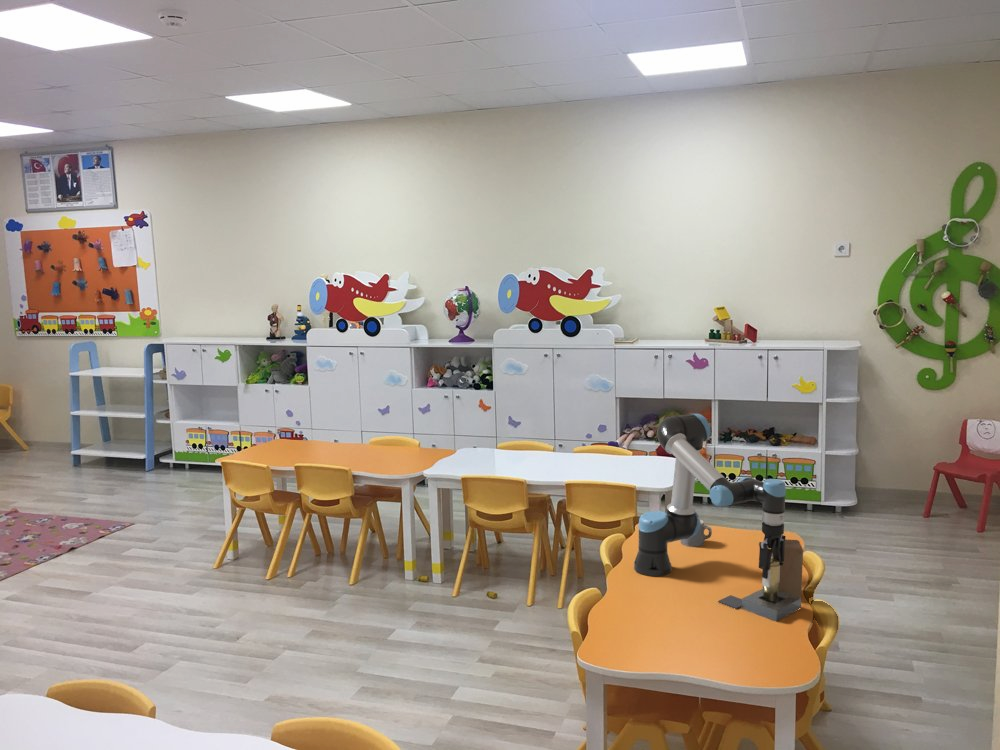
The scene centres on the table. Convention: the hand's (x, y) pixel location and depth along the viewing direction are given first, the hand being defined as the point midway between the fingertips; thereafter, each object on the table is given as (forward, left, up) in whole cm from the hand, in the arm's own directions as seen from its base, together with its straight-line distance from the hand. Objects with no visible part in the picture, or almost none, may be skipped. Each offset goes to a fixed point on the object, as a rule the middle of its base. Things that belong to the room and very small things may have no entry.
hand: (770, 583), depth 296 cm
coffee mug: (-59, +35, -10) cm, 70 cm away
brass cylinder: (0, 0, -5) cm, 5 cm away
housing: (+1, 0, -9) cm, 9 cm away
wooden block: (-3, +16, -10) cm, 19 cm away
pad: (-11, -6, -9) cm, 16 cm away
